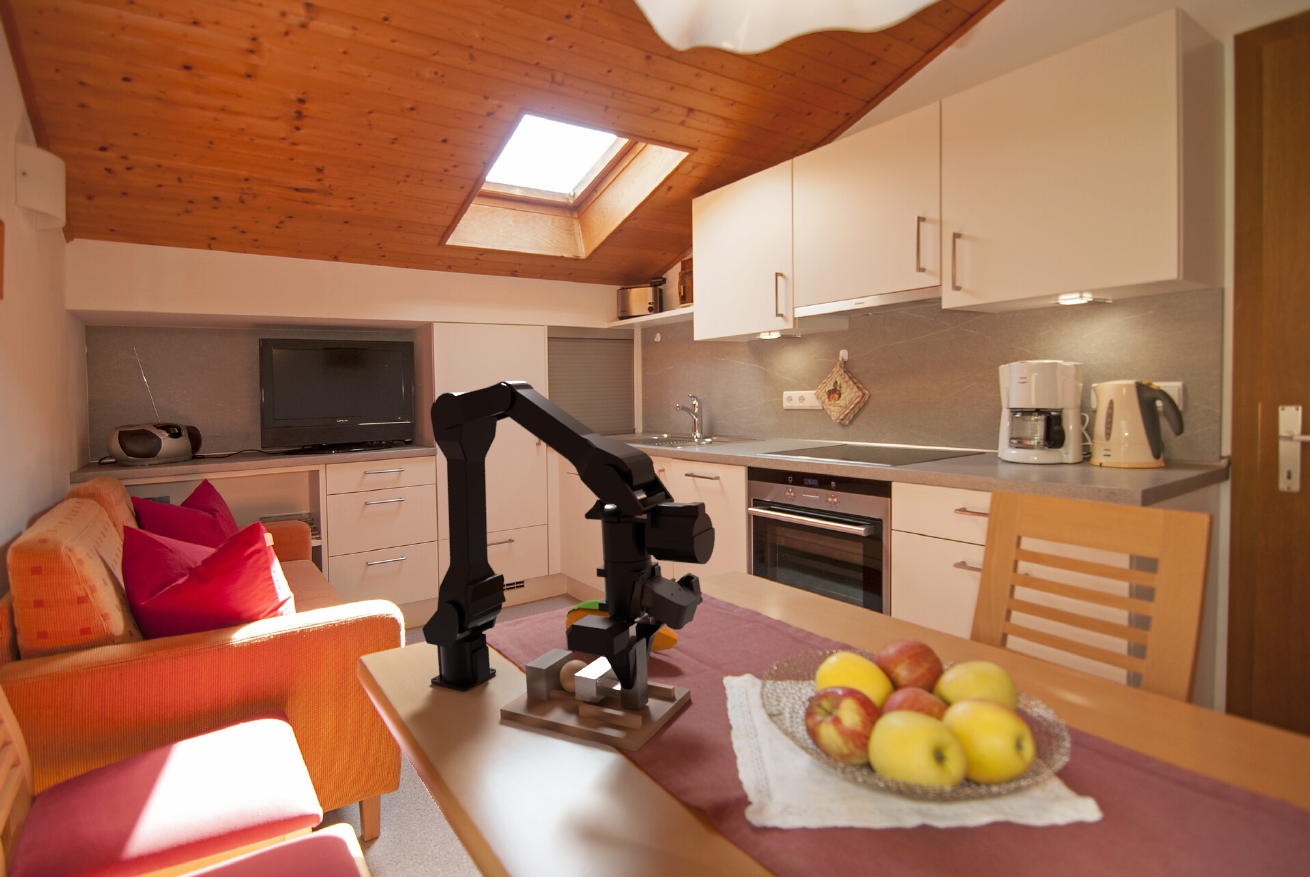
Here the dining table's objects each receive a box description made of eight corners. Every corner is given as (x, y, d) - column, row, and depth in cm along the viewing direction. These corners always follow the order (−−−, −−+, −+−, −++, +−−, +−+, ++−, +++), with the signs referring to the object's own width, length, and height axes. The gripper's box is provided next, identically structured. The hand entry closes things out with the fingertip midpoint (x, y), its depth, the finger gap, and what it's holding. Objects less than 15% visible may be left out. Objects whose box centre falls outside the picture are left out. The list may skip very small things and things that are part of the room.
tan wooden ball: (554, 695, 88) (552, 664, 87) (572, 683, 91) (570, 653, 91) (580, 701, 86) (579, 669, 85) (598, 688, 89) (596, 657, 89)
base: (500, 718, 86) (498, 676, 85) (567, 673, 98) (565, 636, 97) (636, 751, 77) (633, 704, 76) (690, 698, 89) (689, 657, 88)
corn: (582, 586, 113) (690, 603, 102) (586, 631, 114) (693, 652, 104) (552, 602, 107) (664, 622, 96) (556, 649, 108) (668, 674, 97)
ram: (576, 705, 85) (572, 640, 84) (602, 685, 90) (599, 624, 90) (631, 717, 81) (628, 650, 81) (655, 695, 87) (652, 632, 86)
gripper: (649, 585, 71) (656, 733, 72) (720, 543, 87) (725, 665, 89) (559, 575, 76) (567, 713, 78) (642, 538, 93) (648, 652, 94)
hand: (633, 684), depth 84 cm, fingers closed on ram, 2 cm apart
